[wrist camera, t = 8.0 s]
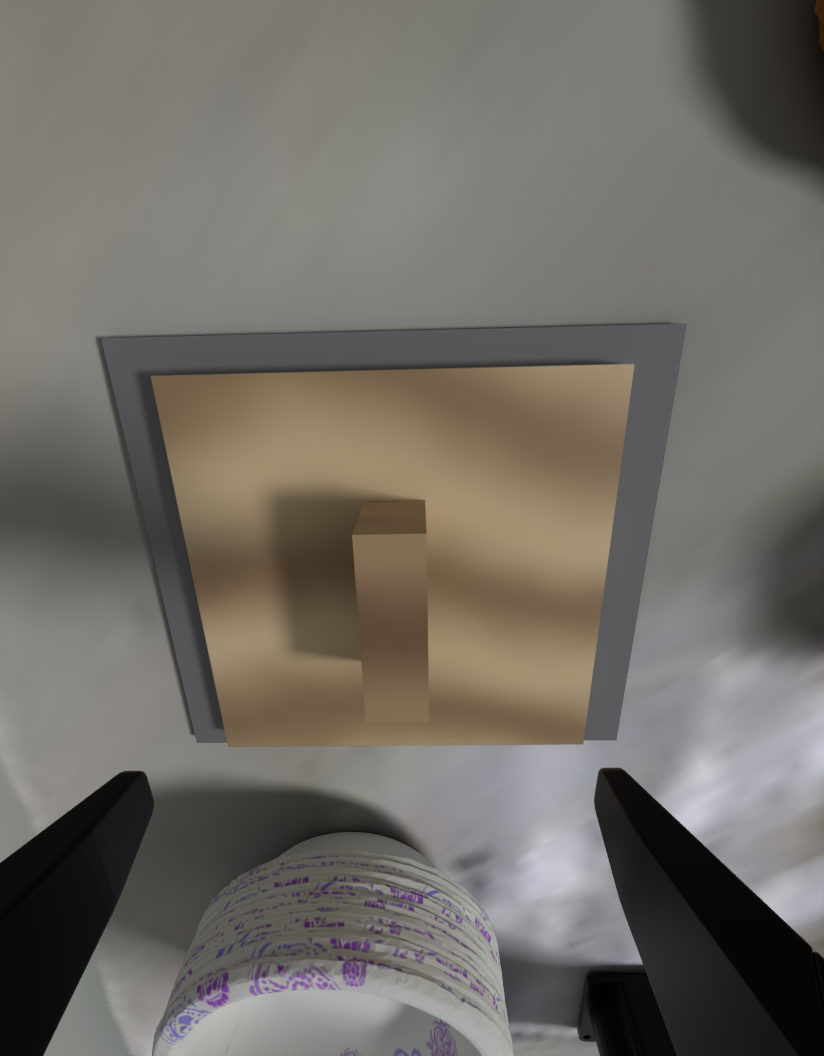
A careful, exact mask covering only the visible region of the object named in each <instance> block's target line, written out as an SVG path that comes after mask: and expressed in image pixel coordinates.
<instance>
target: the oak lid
mask: <svg viewBox="0 0 824 1056" xmlns="http://www.w3.org/2000/svg"><path fill="white" fill-rule="evenodd" d="M634 365H635V364H590V365H549V366H509V367H468V368H428V369H387V370H347V371H306V372H266V373H226V374H185V375H158V376H151V380H152V385H153V390H154V395H155V399H156V404H157V409H158V414H159V419H160V423H161V428H162V433H163V438H164V442H165V447H166V452H167V457H168V462H169V466H170V471H171V476H172V481H173V485H174V490H175V495H176V500H177V505H178V509H179V514H180V519H181V524H182V529H183V533H184V538H185V543H186V548H187V552H188V557H189V562H190V567H191V572H192V576H193V581H194V586H195V591H196V595H197V600H198V605H199V610H200V615H201V619H202V624H203V629H204V634H205V639H206V643H207V648H208V653H209V658H210V662H211V667H212V672H213V677H214V682H215V686H216V691H217V696H218V701H219V705H220V710H221V715H222V720H223V725H224V729H225V734H226V739H227V744H228V747H270V746H407V745H544V744H583V742H584V735H585V727H586V720H587V712H588V705H589V698H590V690H591V683H592V675H593V668H594V661H595V653H596V646H597V638H598V631H599V624H600V616H601V609H602V602H603V594H604V587H605V579H606V572H607V565H608V557H609V550H610V542H611V535H612V528H613V520H614V513H615V506H616V498H617V491H618V483H619V476H620V469H621V461H622V454H623V446H624V439H625V432H626V424H627V417H628V410H629V402H630V395H631V387H632V380H633V373H634Z"/></svg>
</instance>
